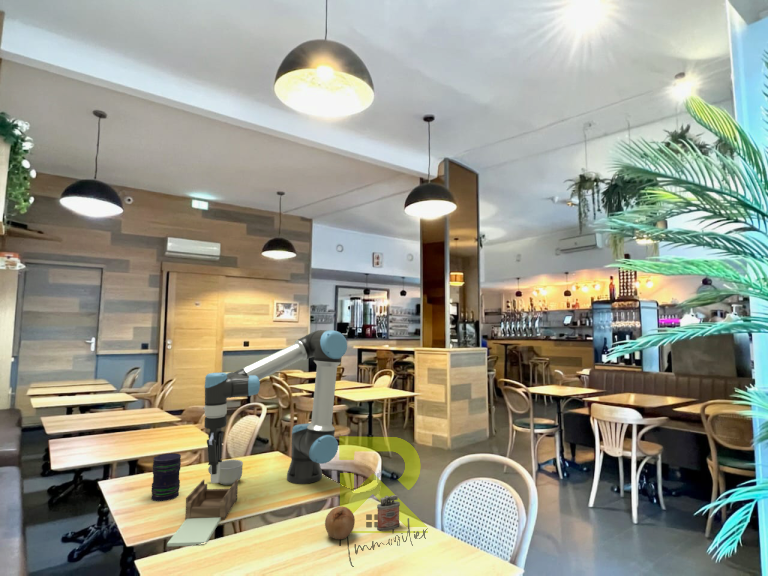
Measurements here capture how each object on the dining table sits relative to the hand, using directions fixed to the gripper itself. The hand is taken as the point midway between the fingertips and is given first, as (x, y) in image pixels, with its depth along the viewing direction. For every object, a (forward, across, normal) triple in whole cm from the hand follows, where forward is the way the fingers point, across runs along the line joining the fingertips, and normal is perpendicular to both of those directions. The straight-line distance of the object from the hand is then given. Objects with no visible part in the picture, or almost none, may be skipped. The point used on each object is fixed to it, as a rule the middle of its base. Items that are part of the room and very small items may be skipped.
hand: (215, 482), depth 158 cm
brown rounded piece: (+11, +24, +45) cm, 52 cm away
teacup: (+10, -29, -4) cm, 31 cm away
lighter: (+11, +19, +61) cm, 65 cm away
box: (+10, -1, -1) cm, 10 cm away
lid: (+10, +17, -1) cm, 20 cm away
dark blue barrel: (+10, -15, -23) cm, 29 cm away
